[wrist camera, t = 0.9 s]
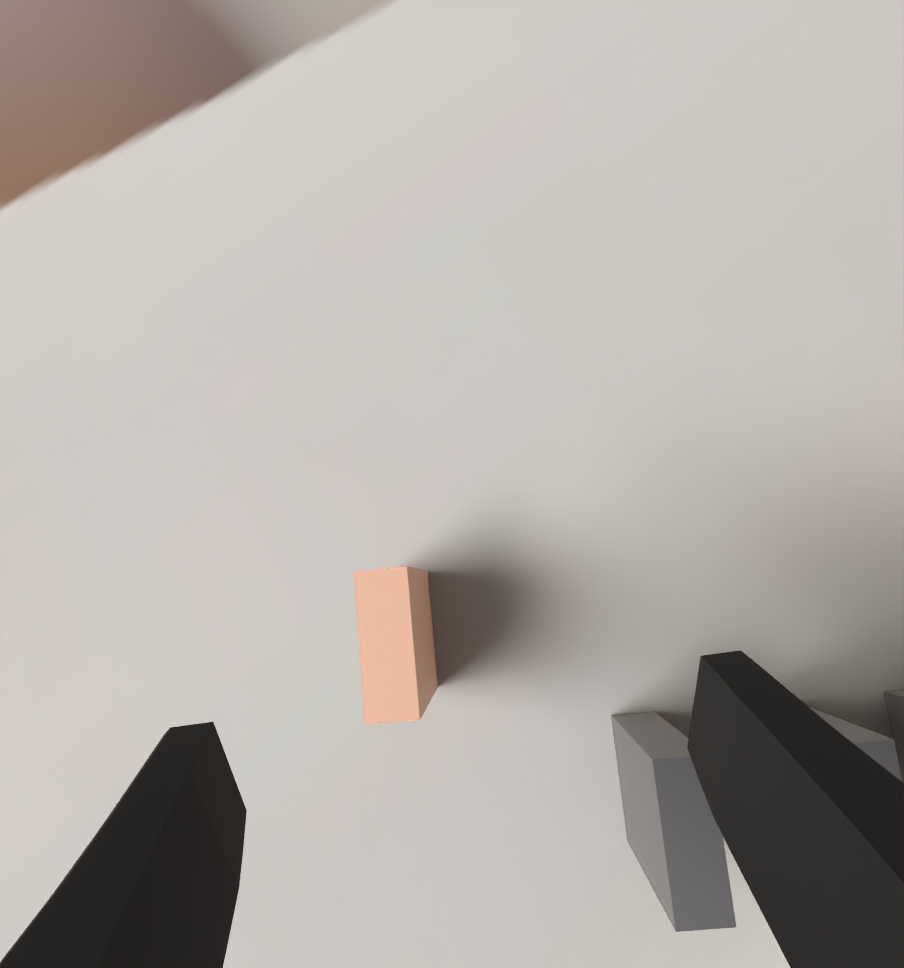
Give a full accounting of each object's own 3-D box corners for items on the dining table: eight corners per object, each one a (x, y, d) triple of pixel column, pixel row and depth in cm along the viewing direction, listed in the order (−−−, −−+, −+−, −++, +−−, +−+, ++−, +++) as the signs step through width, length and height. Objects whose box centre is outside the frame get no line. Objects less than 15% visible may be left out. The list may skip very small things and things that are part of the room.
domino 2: (654, 711, 25) (710, 754, 18) (671, 837, 24) (736, 927, 18) (611, 715, 25) (652, 759, 18) (627, 840, 24) (676, 931, 18)
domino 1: (427, 571, 26) (406, 566, 20) (437, 686, 25) (419, 720, 19) (387, 575, 26) (354, 571, 20) (396, 690, 25) (365, 724, 19)
